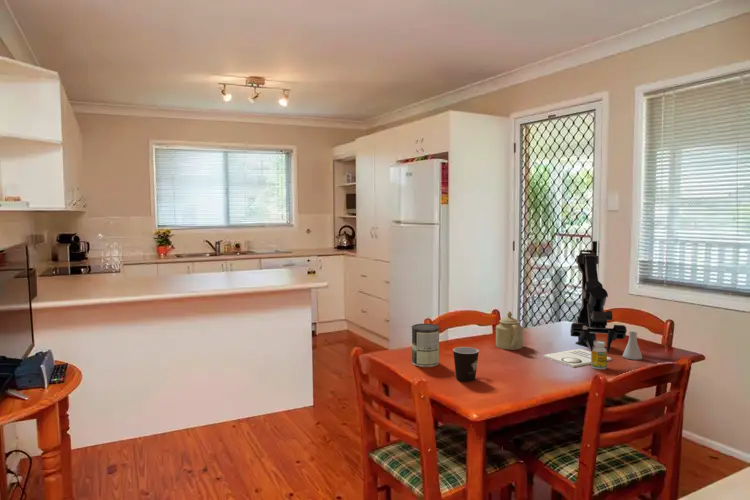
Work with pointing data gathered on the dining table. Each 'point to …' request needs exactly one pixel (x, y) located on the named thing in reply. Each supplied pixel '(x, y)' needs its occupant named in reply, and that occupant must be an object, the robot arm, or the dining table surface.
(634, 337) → the flask
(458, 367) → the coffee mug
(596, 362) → the supplement bottle
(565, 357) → the notepad
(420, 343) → the coffee can
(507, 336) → the sugar bowl
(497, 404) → the dining table surface
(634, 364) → the dining table surface
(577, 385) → the dining table surface
